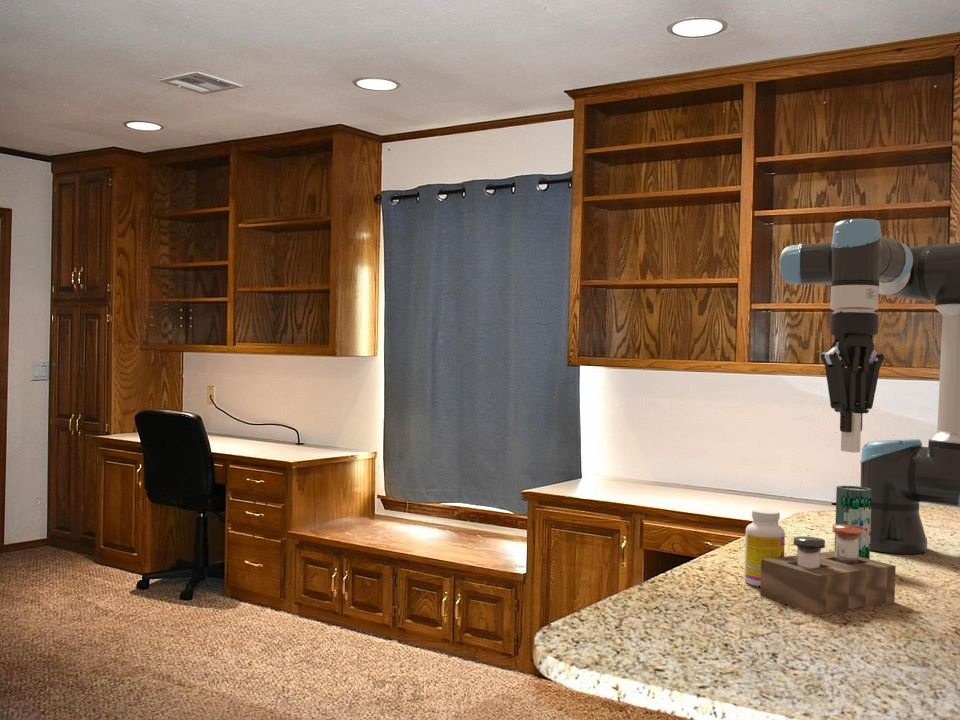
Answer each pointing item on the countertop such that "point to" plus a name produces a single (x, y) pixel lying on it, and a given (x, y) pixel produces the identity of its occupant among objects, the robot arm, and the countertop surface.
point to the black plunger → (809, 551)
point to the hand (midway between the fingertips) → (850, 451)
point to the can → (855, 513)
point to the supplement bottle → (762, 542)
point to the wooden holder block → (828, 583)
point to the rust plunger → (847, 543)
